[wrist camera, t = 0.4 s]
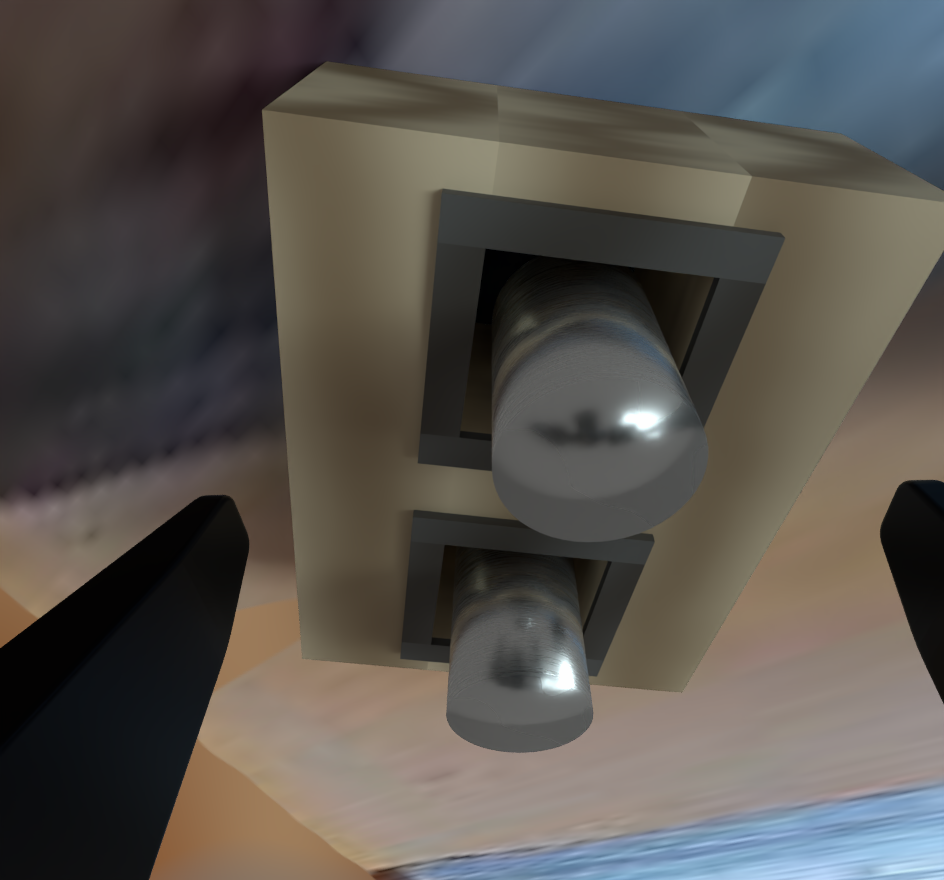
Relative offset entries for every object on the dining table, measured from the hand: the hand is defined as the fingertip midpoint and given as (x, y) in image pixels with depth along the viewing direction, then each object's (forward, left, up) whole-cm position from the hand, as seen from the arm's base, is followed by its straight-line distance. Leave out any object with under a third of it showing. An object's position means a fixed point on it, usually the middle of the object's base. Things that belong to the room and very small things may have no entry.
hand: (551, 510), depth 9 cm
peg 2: (-1, +2, -9) cm, 9 cm away
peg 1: (-1, +11, -9) cm, 14 cm away
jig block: (-1, +6, -13) cm, 14 cm away
